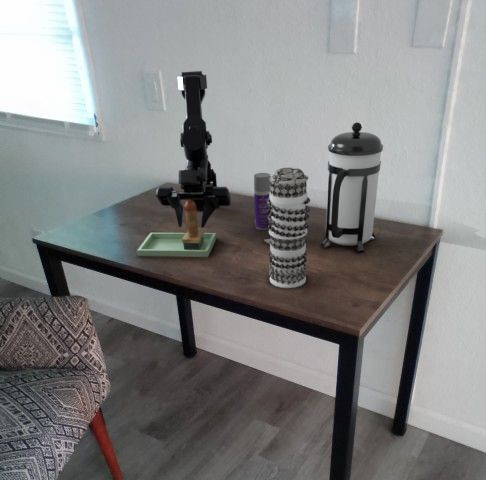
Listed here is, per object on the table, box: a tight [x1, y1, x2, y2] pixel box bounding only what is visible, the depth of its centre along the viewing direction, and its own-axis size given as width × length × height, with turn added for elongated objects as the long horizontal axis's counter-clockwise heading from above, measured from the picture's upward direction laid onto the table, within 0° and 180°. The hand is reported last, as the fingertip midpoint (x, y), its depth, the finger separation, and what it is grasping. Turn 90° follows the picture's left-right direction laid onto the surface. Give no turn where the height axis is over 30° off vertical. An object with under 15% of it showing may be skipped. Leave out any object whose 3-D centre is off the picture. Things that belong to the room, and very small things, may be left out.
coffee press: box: [320, 121, 384, 254], centre depth 120 cm, size 17×16×30 cm
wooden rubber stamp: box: [182, 200, 205, 250], centre depth 127 cm, size 4×6×13 cm
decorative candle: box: [266, 167, 311, 289], centre depth 107 cm, size 9×9×25 cm
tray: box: [136, 232, 217, 258], centre depth 131 cm, size 19×12×2 cm, turn 82°
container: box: [253, 172, 271, 231], centre depth 138 cm, size 5×5×15 cm
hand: (191, 226), depth 126 cm, fingers open, 6 cm apart
